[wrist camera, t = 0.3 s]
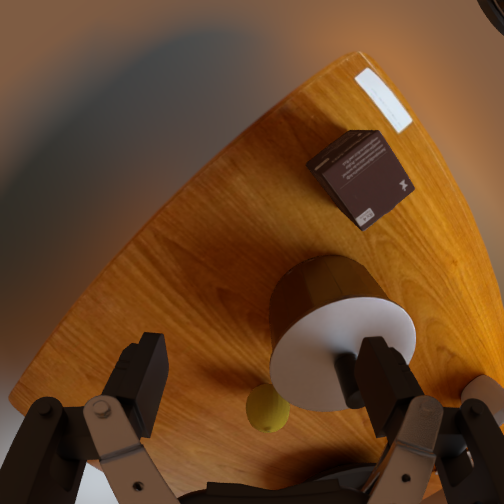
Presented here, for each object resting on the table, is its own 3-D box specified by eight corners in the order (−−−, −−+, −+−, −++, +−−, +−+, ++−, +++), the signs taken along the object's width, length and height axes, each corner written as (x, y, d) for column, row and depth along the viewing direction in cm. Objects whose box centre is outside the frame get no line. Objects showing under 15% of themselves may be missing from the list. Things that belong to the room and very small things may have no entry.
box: (350, 128, 27) (380, 127, 20) (383, 176, 29) (417, 189, 22) (303, 164, 28) (320, 173, 22) (338, 211, 30) (363, 233, 23)
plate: (274, 459, 47) (276, 483, 41) (398, 429, 45) (407, 451, 40) (293, 503, 57) (294, 520, 51) (384, 481, 55) (389, 498, 50)
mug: (450, 395, 42) (472, 433, 33) (485, 362, 40) (512, 397, 30) (466, 412, 45) (485, 444, 36) (497, 384, 43) (519, 414, 34)
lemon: (260, 366, 37) (262, 413, 30) (294, 380, 39) (302, 426, 31) (238, 390, 39) (236, 435, 32) (271, 403, 40) (274, 447, 33)
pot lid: (274, 289, 23) (280, 333, 18) (428, 288, 24) (460, 322, 18) (264, 406, 28) (266, 450, 23) (388, 397, 29) (404, 434, 23)
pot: (272, 253, 32) (281, 299, 23) (385, 256, 32) (425, 297, 23) (266, 350, 36) (270, 407, 28) (363, 347, 37) (387, 398, 28)
